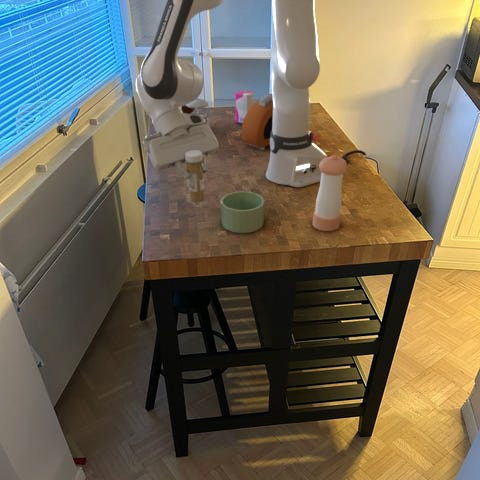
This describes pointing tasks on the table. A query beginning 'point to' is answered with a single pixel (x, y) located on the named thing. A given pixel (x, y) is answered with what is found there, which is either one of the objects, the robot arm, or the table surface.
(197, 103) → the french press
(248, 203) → the cup
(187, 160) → the sprinkles bottle
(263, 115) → the alarm clock
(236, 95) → the supplement box
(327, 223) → the salt shaker
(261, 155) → the table surface
